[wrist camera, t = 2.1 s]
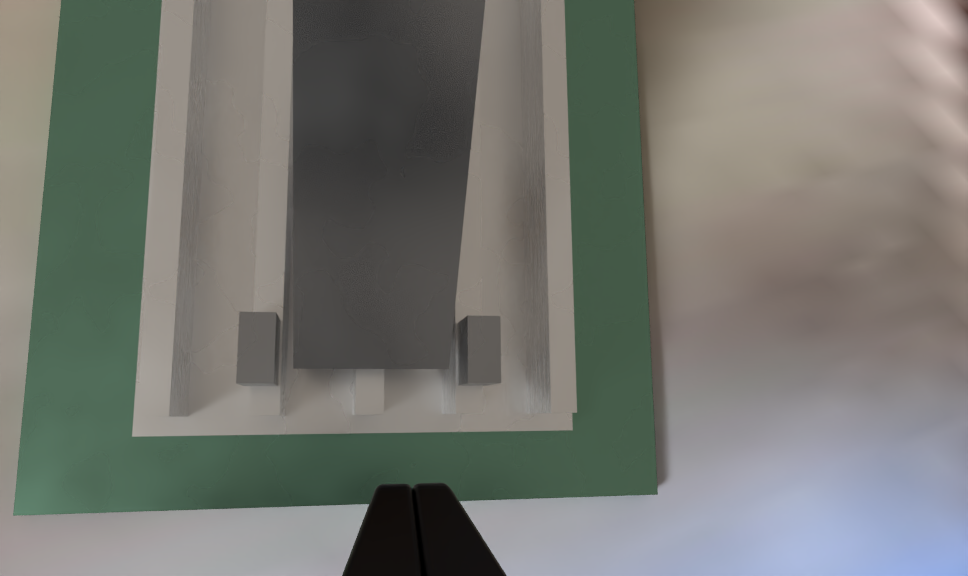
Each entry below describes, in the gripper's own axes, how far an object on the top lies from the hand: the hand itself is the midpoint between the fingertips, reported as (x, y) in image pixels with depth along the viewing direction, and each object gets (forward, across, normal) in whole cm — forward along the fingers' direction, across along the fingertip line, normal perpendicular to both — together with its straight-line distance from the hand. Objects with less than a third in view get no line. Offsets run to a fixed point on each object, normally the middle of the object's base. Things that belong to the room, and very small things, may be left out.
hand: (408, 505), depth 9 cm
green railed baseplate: (+16, 0, +4) cm, 16 cm away
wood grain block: (+9, 0, -1) cm, 9 cm away
